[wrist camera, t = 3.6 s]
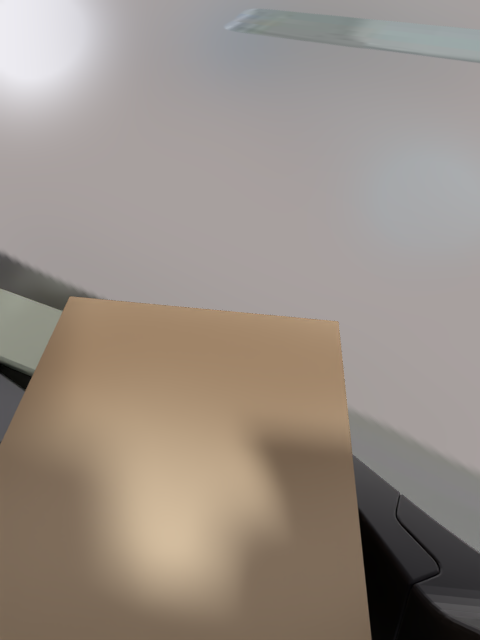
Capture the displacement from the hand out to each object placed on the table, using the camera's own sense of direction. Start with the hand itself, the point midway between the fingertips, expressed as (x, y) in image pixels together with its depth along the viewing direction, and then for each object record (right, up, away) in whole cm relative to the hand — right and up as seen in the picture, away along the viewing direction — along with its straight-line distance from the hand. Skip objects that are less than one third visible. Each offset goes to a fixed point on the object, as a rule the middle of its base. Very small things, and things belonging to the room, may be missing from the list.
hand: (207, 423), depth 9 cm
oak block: (0, -5, +5) cm, 7 cm away
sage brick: (-10, +1, +8) cm, 13 cm away
